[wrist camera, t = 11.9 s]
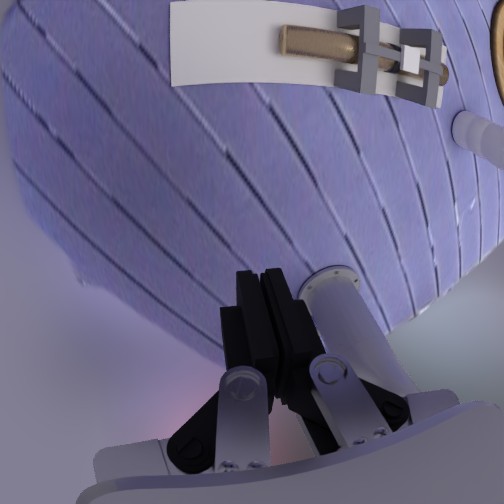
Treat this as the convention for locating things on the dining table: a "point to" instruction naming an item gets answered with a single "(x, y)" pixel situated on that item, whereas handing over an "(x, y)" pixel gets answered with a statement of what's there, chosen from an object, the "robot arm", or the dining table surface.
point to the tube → (339, 49)
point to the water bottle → (480, 137)
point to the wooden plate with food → (498, 47)
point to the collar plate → (298, 68)
